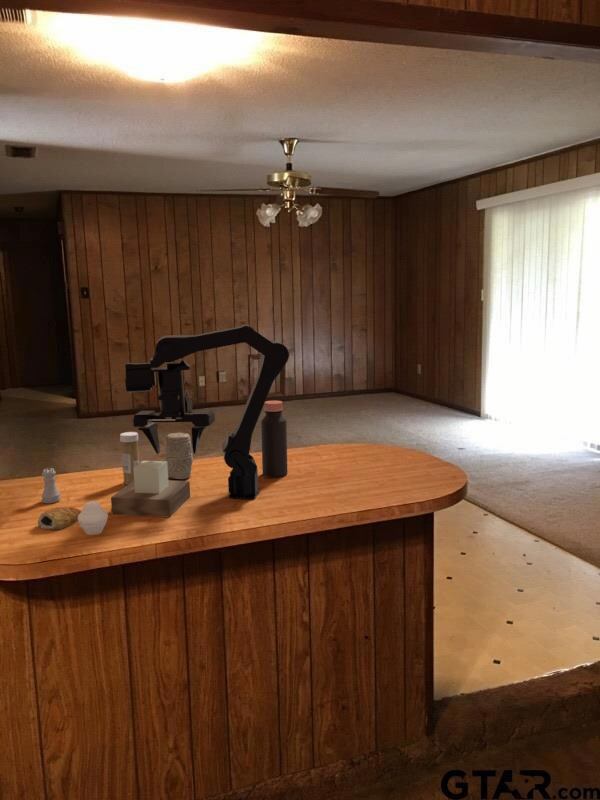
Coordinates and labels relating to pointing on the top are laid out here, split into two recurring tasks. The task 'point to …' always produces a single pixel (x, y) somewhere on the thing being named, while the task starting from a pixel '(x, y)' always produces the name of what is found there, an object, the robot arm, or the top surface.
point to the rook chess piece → (50, 487)
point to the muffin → (92, 518)
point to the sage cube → (151, 477)
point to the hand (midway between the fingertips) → (176, 453)
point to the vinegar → (274, 440)
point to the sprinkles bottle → (129, 455)
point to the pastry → (58, 518)
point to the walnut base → (151, 500)
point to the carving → (178, 455)
